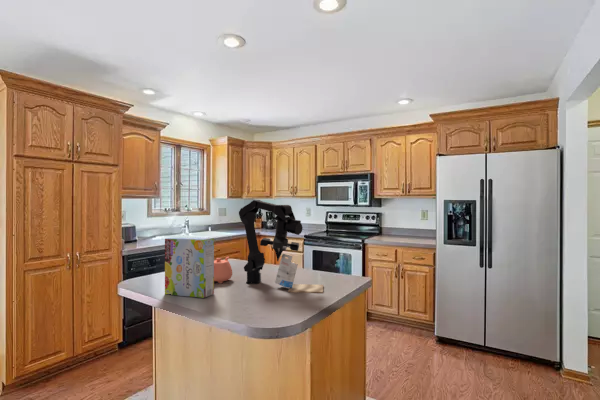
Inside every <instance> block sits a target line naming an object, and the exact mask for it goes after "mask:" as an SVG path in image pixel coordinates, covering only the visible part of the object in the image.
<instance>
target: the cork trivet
mask: <svg viewBox="0 0 600 400" xmlns="http://www.w3.org/2000/svg"><path fill="white" fill-rule="evenodd" d="M287 292H288V293H297V294H298V293H301V294H304V293H305V294H311V293H312V294H324V284H307V283H306V284H302V283H301V284H300V283H299V284H296V283H293V286H292V288H289V289H288V291H287Z"/></svg>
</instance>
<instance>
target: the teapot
mask: <svg viewBox="0 0 600 400" xmlns="http://www.w3.org/2000/svg"><path fill="white" fill-rule="evenodd" d="M229 258H230V256H226V257H225V259H222V257H217V258H215V259H214V282H218V283H217V284H223V283H224V282H228V281H229V280H230V279H231V278H232V277H233V269H232V265H231V263H230V261H229Z"/></svg>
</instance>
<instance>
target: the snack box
mask: <svg viewBox="0 0 600 400" xmlns="http://www.w3.org/2000/svg"><path fill="white" fill-rule="evenodd" d="M214 260H215V239H214V237H196V236H195V237H189V236H187V237H186V236H185V237H181V236H180V237H179V236H178V237H177V236H176V237H175V236H174V237H166V238H164V295H166V294H171V295H170V296H181V297H190V298H191V297H192V298H200V299H201V298H202V299H204V298H206V297H207V298H208V297H210V296H212V295H214V293H215V281H214Z"/></svg>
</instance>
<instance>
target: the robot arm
mask: <svg viewBox="0 0 600 400" xmlns="http://www.w3.org/2000/svg"><path fill="white" fill-rule="evenodd" d="M260 210H263V211H266V212H267V211H268V212H271V213H272V214H273V215H275V217H273V220H274V221H276V227H275V234H274V237H273V240H271V238H268V237H263V238H261V239H260V243H258V238H257V233H256V228H255V221H256V218H257V217H256V214H257V213H258V212H259V211H260ZM238 216H239V219H240V221H241V222H242V224H243V225H244V228H245V229H244V230H245V234H246V241H247V247H248V251H249V253H248V255H247V263H246V264H245V265H244V267H243V269H244V272H246V282H245V283H246V284H250V285H251V284H253V285H254V284H256V285H258V284H260V282H262V273H261V270H263V268H264V265H265V261H266V259H265V253H264V252H261V250H260V248H259V245H260V246H263V247H268V245H270V246H272V247H271V248H272V250H274V253H275V256H276V261H277V262H279V260H280V258H281V257H282V254H283V251H287V249H290V250H291V251H295V252H299V249H300V243H299V242H294V241H291V243H289V239H288V238H287V236H288V233H290V234H294V235H296V236H297V235H298V236H299V235H301V233H302V232H303V229H304V227H303V224H302V220H299V219H296V217H295V214H294V212H293V208H292V206H291V205H290V204H275V203H271V202H267V201H263V200H261V199H254V200H251V201H250V202H249V203H247V204H246V205H244V206H243V207H240V209H239V210H238ZM258 244H259V245H258Z"/></svg>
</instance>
